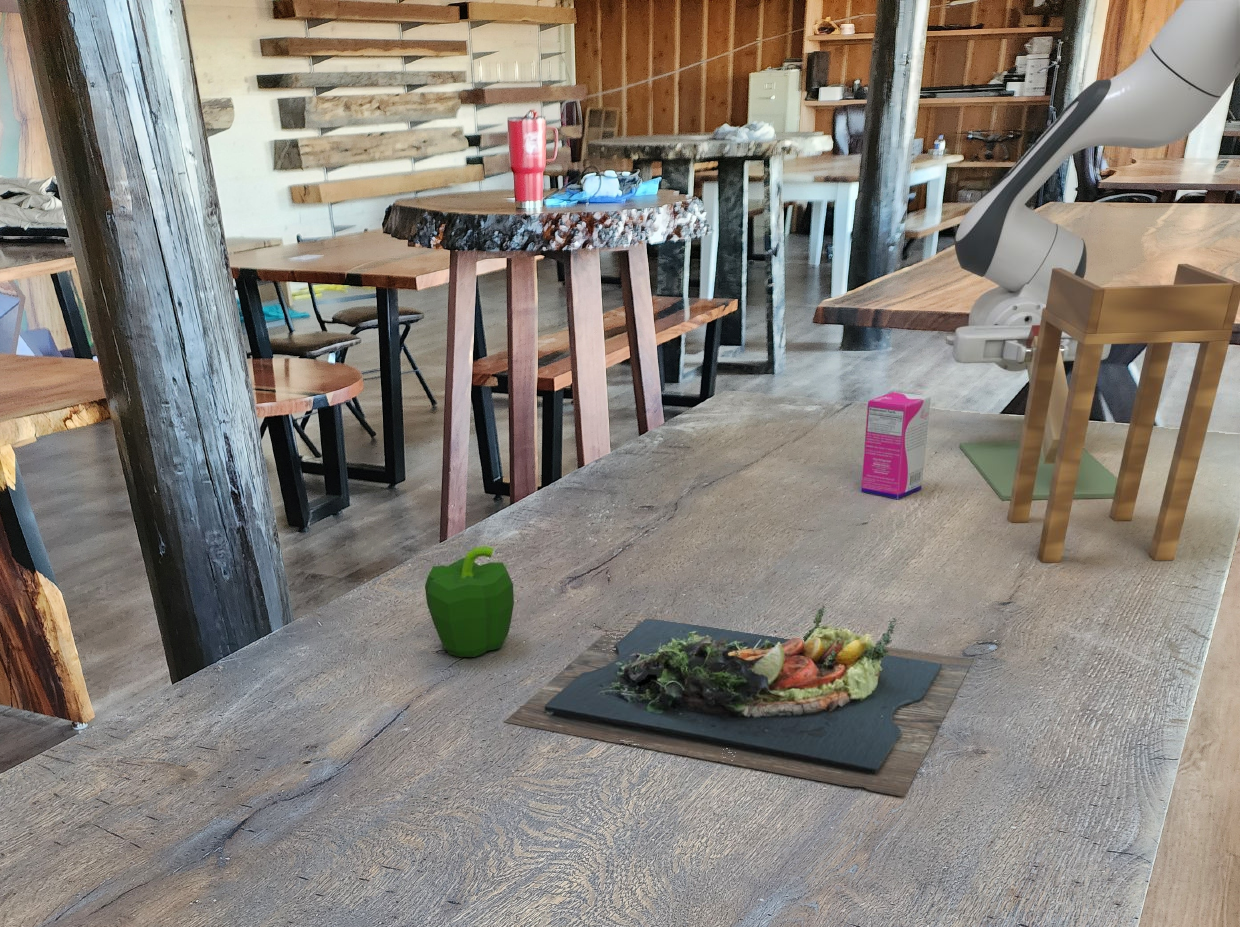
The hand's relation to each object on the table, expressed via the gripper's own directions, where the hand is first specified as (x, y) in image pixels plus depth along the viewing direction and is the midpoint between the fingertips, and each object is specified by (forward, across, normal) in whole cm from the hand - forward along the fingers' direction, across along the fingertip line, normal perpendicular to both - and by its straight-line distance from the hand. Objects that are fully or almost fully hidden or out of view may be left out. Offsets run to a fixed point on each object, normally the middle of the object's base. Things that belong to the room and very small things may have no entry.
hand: (1044, 354), depth 152 cm
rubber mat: (+3, +1, +14) cm, 14 cm away
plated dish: (+71, -42, +14) cm, 84 cm away
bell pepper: (+61, -68, +14) cm, 92 cm away
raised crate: (+31, -1, +14) cm, 34 cm away
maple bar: (+4, 0, +5) cm, 7 cm away
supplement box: (+11, -20, +14) cm, 27 cm away
